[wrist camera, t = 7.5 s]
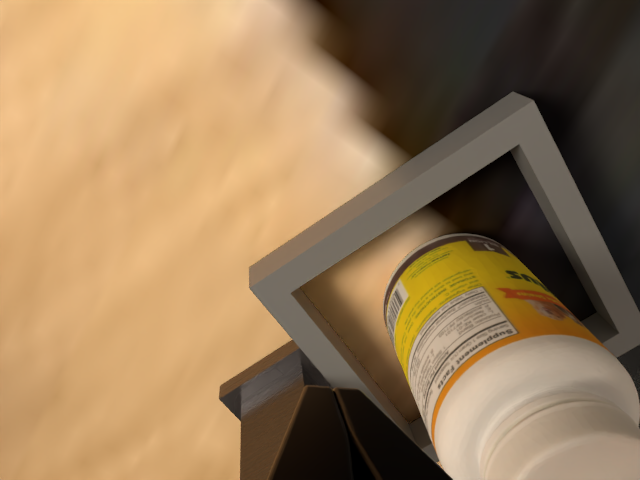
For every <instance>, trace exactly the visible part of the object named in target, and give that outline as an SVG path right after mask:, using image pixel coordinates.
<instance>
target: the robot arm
mask: <svg viewBox="0 0 640 480" xmlns="http://www.w3.org/2000/svg"><path fill="white" fill-rule="evenodd" d="M267 480H453V479H452V478H451V477H450V476H449V475H448V474H447V473H446V472H445V471H444V470H443V469H442V468H441V467H440V466H439V465H438V464H437V463H436V462H435V461H434V460H433V459H432V458H430V457H429V456H428V455H427V454H426V453H425V452H424V451H423V450H422V449H421V448H420V447H419V446H418V445H417V444H416V443H415V442H414V441H413V440H412V439H411V438H410V437H409V436H408V435H407V434H406V433H405V432H403V431H402V430H401V429H400V428H399V427H398V426H397V425H396V424H395V423H394V422H393V421H392V420H391V419H390V418H389V417H388V416H387V415H386V414H385V413H384V412H383V411H382V410H381V409H380V408H379V407H378V406H376V405H375V404H374V403H373V402H372V401H371V400H370V399H369V398H368V397H367V396H366V395H365V394H364V393H363V392H362V391H361V390H359V389H356V388H342V387H335V388H333V390H332V389H331V388H330V387H328V386H316V385H306V386H305V387H304V389H303V391H302V394H301V396H300V399H299V401H298V403H297V406H296V408H295V411H294V413H293V416H292V418H291V421H290V423H289V426H288V428H287V430H286V433H285V435H284V438H283V440H282V443H281V445H280V448H279V450H278V453H277V455H276V457H275V460H274V462H273V465H272V467H271V470H270V472H269V475H268V477H267Z"/></svg>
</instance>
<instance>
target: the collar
mask: <svg viewBox="0 0 640 480" xmlns="http://www.w3.org/2000/svg"><path fill="white" fill-rule="evenodd" d="M509 150H510V152H511V153H512V155H513V157H514V159H515V161H516V163H517V165H518V166H519V168H520V170H521V172H522V174H523V176H524V178H525V179H526V181H527V183H528V185H529V187H530V189H531V191H532V192H533V194H534V196H535V198H536V200H537V202H538V204H539V205H540V207H541V209H542V211H543V213H544V215H545V216H546V218H547V220H548V222H549V224H550V226H551V228H552V229H553V231H554V233H555V235H556V237H557V239H558V241H559V242H560V244H561V246H562V248H563V250H564V252H565V254H566V255H567V257H568V259H569V261H570V263H571V265H572V267H573V268H574V270H575V272H576V274H577V276H578V278H579V280H580V281H581V283H582V285H583V287H584V289H585V291H586V293H587V294H588V296H589V298H590V300H591V302H592V304H593V306H594V307H595V309H596V311H597V312H596V313H595V314H593V315H591V316H589V317H588V318H586V319H584V320H583V321H581V323H582V324H583V325H584V326H585V327H586V328H587V329H588V330H589V331H590V332H591V333H592V334H593V335H594V336H595V337H596V338H597V339H598V340H599V341H600V342H601V343H602V344H603V345H604V346H605V347H606V348H607V349H608V350H609V351H610V352H611V353H612V354H613V355H614V356H615V357H616V358H617V357H619V356H621V355H622V354H624V353H626V352H627V351H629V350H631V349H633V348H634V347H636V346H638V345H640V312H639V310H638V308H637V306H636V304H635V302H634V300H633V298H632V296H631V294H630V292H629V290H628V288H627V286H626V284H625V282H624V280H623V278H622V276H621V274H620V272H619V270H618V268H617V266H616V264H615V262H614V260H613V258H612V256H611V254H610V252H609V250H608V248H607V246H606V244H605V242H604V240H603V238H602V236H601V234H600V232H599V230H598V228H597V226H596V224H595V222H594V220H593V218H592V216H591V214H590V212H589V210H588V208H587V206H586V204H585V202H584V200H583V198H582V196H581V194H580V192H579V190H578V188H577V186H576V184H575V182H574V180H573V178H572V176H571V174H570V172H569V170H568V168H567V166H566V164H565V162H564V160H563V158H562V156H561V154H560V152H559V150H558V148H557V146H556V144H555V142H554V140H553V138H552V136H551V134H550V132H549V130H548V128H547V126H546V124H545V122H544V120H543V118H542V116H541V114H540V112H539V110H538V108H537V106H536V104H535V102H534V100H532V99H530V98H527V97H525V96H522V95H520V94H518V93H515V92H512V93H510V94H509V95H507V96H506V97H504V98H503V99H501V100H500V101H498V102H497V103H495V104H494V105H492V106H491V107H489V108H488V109H486V110H485V111H483V112H482V113H480V114H479V115H477V116H476V117H474V118H473V119H471V120H470V121H468V122H467V123H465V124H464V125H462V126H461V127H459V128H458V129H456V130H455V131H453V132H452V133H450V134H449V135H447V136H446V137H444V138H443V139H441V140H440V141H438V142H437V143H435V144H434V145H432V146H431V147H429V148H428V149H426V150H425V151H423V152H422V153H420V154H419V155H417V156H416V157H414V158H413V159H411V160H410V161H408V162H407V163H405V164H404V165H402V166H401V167H399V168H398V169H396V170H395V171H393V172H392V173H390V174H389V175H387V176H386V177H384V178H383V179H381V180H380V181H378V182H377V183H375V184H374V185H372V186H371V187H369V188H368V189H366V190H365V191H363V192H362V193H360V194H359V195H357V196H356V197H354V198H353V199H351V200H350V201H348V202H347V203H345V204H344V205H342V206H341V207H339V208H338V209H336V210H335V211H333V212H332V213H330V214H329V215H327V216H326V217H324V218H323V219H321V220H320V221H318V222H317V223H315V224H314V225H312V226H311V227H309V228H308V229H306V230H305V231H303V232H302V233H300V234H299V235H297V236H296V237H294V238H293V239H291V240H290V241H288V242H287V243H285V244H284V245H282V246H281V247H279V248H278V249H276V250H275V251H273V252H272V253H270V254H269V255H267V256H266V257H264V258H263V259H261V260H260V261H258V262H257V263H255V264H254V265H252V266H251V267H249V288H250V290H251V291H252V292H253V293H254V294H255V295H256V297H257V298H258V299H259V300H260V301H261V303H262V304H263V305H264V306H265V307H266V309H267V310H268V311H269V312H270V313H271V314H272V316H273V317H274V318H275V319H276V320H277V322H278V323H279V324H280V325H281V326H282V327H283V329H284V330H285V331H286V332H287V333H288V335H289V336H290V337H291V338H292V339H293V340H294V342H295V343H296V344H297V345H298V346H299V348H300V349H301V350H302V351H303V352H304V353H305V355H306V356H307V357H308V358H309V359H310V361H311V362H312V363H313V364H314V365H315V366H316V368H317V369H318V370H319V371H320V372H321V374H322V375H323V376H324V377H325V378H326V379H327V381H328V382H329V383H330V384H331V385H332V387H333V388H335V387H342V388H356V389H359V390H361V391H362V392H363V393H364V394H365V395H366V396H367V397H368V398H369V399H370V400H371V401H372V402H373V403H374V404H375V405H376V406H378V407H379V408H380V409H381V410H382V411H383V412H384V413H385V414H386V415H387V416H388V417H389V418H390V419H391V420H392V421H393V422H394V423H395V424H396V425H397V426H398V427H399V428H400V429H401V430H402V431H403V432H405V433H406V434H407V435H408V436H409V437H410V438H411V439H412V440H413V441H414V442H415V443H416V444H417V445H418V446H419V447H420V448H421V449H422V450H423V451H424V452H425V453H426V454H427V455H428V456H429V457H430V458H432V459H433V460H434V461H435V462H438V461H439V458H438V456H437V454H436V451H435V448H434V446H433V444H432V441H431V439H430V436H429V434H428V431H427V429H426V426H425V424H424V421H423V419H422V417H420V418H418V419H417V420H415V421H413V422H412V423H410V424H408V423H407V421H406V420H405V419H404V418H403V416H402V415H401V414H400V413H399V411H398V410H397V409H396V408H395V406H394V405H393V404H392V403H391V401H390V400H389V399H388V398H387V396H386V395H385V394H384V393H383V391H382V390H381V389H380V388H379V386H378V385H377V384H376V383H375V381H374V380H373V379H372V378H371V376H370V375H369V374H368V373H367V371H366V370H365V369H364V367H363V366H362V365H361V364H360V362H359V361H358V360H357V359H356V357H355V356H354V355H353V354H352V352H351V351H350V350H349V349H348V347H347V346H346V345H345V344H344V342H343V341H342V340H341V339H340V337H339V336H338V335H337V334H336V332H335V331H334V330H333V329H332V327H331V326H330V325H329V324H328V322H327V321H326V320H325V319H324V317H323V316H322V315H321V314H320V312H319V311H318V310H317V309H316V307H315V306H314V305H313V304H312V302H311V301H310V300H309V299H308V297H307V296H306V295H305V294H304V292H303V291H302V290H301V289H300V287H301V286H302V285H304V284H305V283H307V282H308V281H310V280H311V279H313V278H314V277H316V276H317V275H319V274H320V273H322V272H324V271H325V270H327V269H328V268H330V267H331V266H333V265H334V264H336V263H337V262H339V261H340V260H342V259H343V258H345V257H347V256H348V255H350V254H351V253H353V252H354V251H356V250H357V249H359V248H360V247H362V246H363V245H365V244H367V243H368V242H370V241H371V240H373V239H374V238H376V237H377V236H379V235H380V234H382V233H383V232H385V231H386V230H388V229H390V228H391V227H393V226H394V225H396V224H397V223H399V222H400V221H402V220H403V219H405V218H406V217H408V216H409V215H411V214H413V213H414V212H416V211H417V210H419V209H420V208H422V207H423V206H425V205H426V204H428V203H429V202H431V201H432V200H434V199H436V198H437V197H439V196H440V195H442V194H443V193H445V192H446V191H448V190H449V189H451V188H452V187H454V186H456V185H457V184H459V183H460V182H462V181H463V180H465V179H466V178H468V177H469V176H471V175H472V174H474V173H475V172H477V171H479V170H480V169H482V168H483V167H485V166H486V165H488V164H489V163H491V162H492V161H494V160H495V159H497V158H498V157H500V156H502V155H503V154H505V153H506V152H508V151H509Z"/></svg>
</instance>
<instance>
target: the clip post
mask: <svg viewBox="0 0 640 480" xmlns="http://www.w3.org/2000/svg"><path fill="white" fill-rule="evenodd" d="M306 385H316V386H328V387H330V388H331V389H332V390H333V387H332V385H331V384H330V383H329V382H328V381H327V379H326V378H325V377H324V376H323V375H322V374H321V372H320V371H319V370H318V369H317V368H316V366H315V365H314V364H313V363H312V362H311V361H310V359H309V358H308V357H307V356H306V355H305V353H304V352H303V351H302V350H301V349H300V348H299V346H298V345H297V344H296V343H295V342H294V340H291V341H290V342H288V343H287V344H285V345H284V346H282V347H280V348H279V349H277V350H276V351H274V352H273V353H271V354H270V355H268V356H266V357H265V358H263V359H262V360H260V361H259V362H257V363H255V364H254V365H252V366H251V367H249V368H248V369H246V370H244V371H243V372H241V373H240V374H238V375H237V376H235V377H233V378H232V379H230V380H229V381H227V382H226V383H224V384H223V385H221V386H220V394H219V399H220V400H221V401H222V402H223V403H224V404H225V406H226V407H227V408H228V409H229V410H230V411H231V412H232V413H233V414H234V415H235V416H236V417H237V418H238V419H239V420H240V421H241V458H240V480H267V477H268V475H269V472H270V470H271V467H272V465H273V462H274V460H275V457H276V455H277V453H278V450H279V448H280V445H281V443H282V440H283V438H284V435H285V433H286V430H287V428H288V426H289V423H290V421H291V418H292V416H293V413H294V411H295V408H296V406H297V403H298V401H299V399H300V396H301V394H302V391H303V389H304V387H305V386H306Z"/></svg>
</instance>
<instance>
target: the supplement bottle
mask: <svg viewBox="0 0 640 480" xmlns="http://www.w3.org/2000/svg"><path fill="white" fill-rule="evenodd" d="M383 315H384V320H385V324H386V327H387V330H388V333H389V336H390V338H391V341H392V343H393V346H394V348H395V351H396V354H397V357H398V359H399V362H400V364H401V366H402V369H403V371H404V374H405V377H406V379H407V382H408V384H409V387H410V389H411V392H412V394H413V396H414V399H415V401H416V404H417V406H418V409H419V411H420V414H421V416H422V419H423V421H424V424H425V426H426V429H427V431H428V434H429V436H430V439H431V441H432V444H433V446H434V448H435V451H436V454H437V456H438V458H439V461H440V463H441V465H442V467H443V469H444V471H445V472H446V473H447V474H448V475H449V476H450V477H451V478H452V479H453V480H640V429H639V427H638V426H639V418H640V404H639V398H638V393H637V390H636V387H635V385H634V382H633V380H632V378H631V376H630V375H629V373H628V372H627V371H626V369H625V368H624V367H623V365H622V364H621V363H620V362H619V361H618V360H617V358H616V357H615V356H614V355H613V354H612V353H611V352H610V351H609V350H608V349H607V348H606V347H605V346H604V345H603V344H602V343H601V342H600V341H599V340H598V339H597V338H596V337H595V336H594V335H593V334H592V333H591V332H590V331H589V330H588V329H587V328H586V327H585V326H584V325H583V324H582V323H581V322H580V321H579V320H578V319H577V318H576V317H575V316H574V315H573V314H572V313H571V312H570V311H569V310H568V309H567V308H566V307H565V306H564V305H563V304H562V303H561V302H560V301H559V300H558V299H557V298H556V297H555V296H554V295H553V294H552V293H551V292H550V291H549V290H548V289H547V288H546V287H545V286H544V285H543V284H542V282H541V281H540V280H539V279H538V278H537V277H536V276H535V275H534V274H533V273H532V272H531V271H530V270H529V269H528V268H527V267H526V266H525V265H524V264H523V263H522V262H521V261H520V260H519V259H518V258H517V257H516V256H515V255H514V254H512V253H511V252H510V251H509V250H508V249H507V248H505V247H504V246H503V245H501V244H500V243H498V242H496V241H494V240H492V239H489V238H487V237H484V236H480V235H475V234H467V233H459V234H450V235H444V236H441V237H438V238H435V239H432V240H430V241H428V242H426V243H424V244H422V245H420V246H418V247H417V248H415V249H414V250H413V251H411V252H410V253H409V254H408V255H407V256H406V257H405V258H404V259H403V260H402V261H401V262H400V263H399V264H398V266H397V267H396V269H395V270H394V272H393V273H392V275H391V277H390V279H389V281H388V284H387V286H386V290H385V293H384V299H383Z"/></svg>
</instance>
